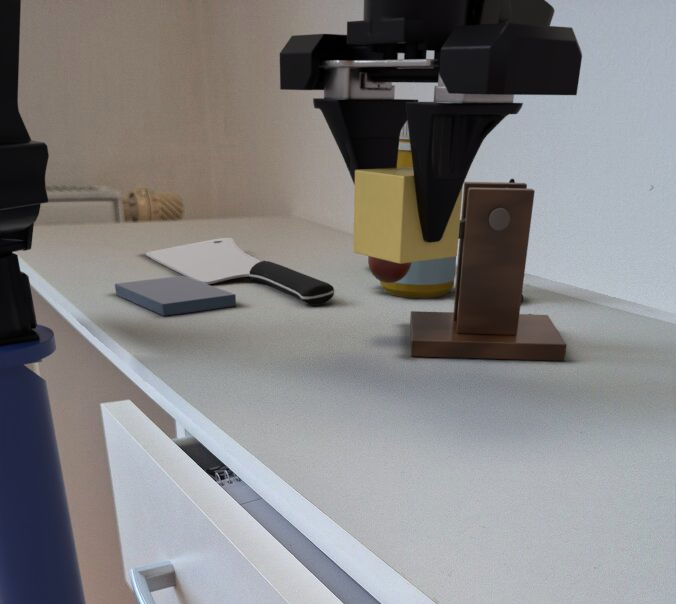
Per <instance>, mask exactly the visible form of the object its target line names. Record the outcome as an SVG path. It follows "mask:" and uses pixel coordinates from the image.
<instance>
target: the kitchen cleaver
mask: <svg viewBox="0 0 676 604" xmlns="http://www.w3.org/2000/svg"><path fill="white" fill-rule="evenodd" d="M145 256H147V257H148V258H149V259H151V260H153V261H155V262H157V263H159V264H161V265H163V266H165V267H166V268H168V269H171V270H173V271H174V272H177V273H179V274H181V275H182V276H185V277H188V278H191V279H193V280H196V281H199V282H202V283H205V284H207V285H212V284H217V283H221V282H224V281H228V280H233V279H237V278H239V279H240V278H246V277H249V278H250V279H251V281H253V282H257V283H263V284H267V285H268V286H272V287H274V288H275V289H278V290H281V291H282V292H285V293H286V294H289V295H291V296H293V297H296V298H298V299H300V300H301V301H302V302H304V303H305V304H307V305H310V306H322V305H325V304H326V303H328V302H329V301H331V300H332V299H333V297H334V295H335V292H336V291H335V287H334V286H333V285H331V283H329V282H326V281H323V280H320V279H318V278H316V277H312V276H310V275H308V274H304V273H302V272H300V271H297V270H294V269H292V268H289V267H287V266H284V265H281V264H279V263H276V262H273V261H269V260H261V259H258V258H256V257H254V256H252V255H249V254H248V253H246V252H244V251H243V250H242V249H241V248H240V247H238V246H237V245H236V243H235V241H234V239H233V238H231V237H221V238H214V239H209V240H208V239H207V240H203V241H197V242H193V243H187V244H182V245H176V246H172V247H171V246H170V247H167V248H161V249H157V250H152V251H151V250H150V251H147V252H145Z"/></svg>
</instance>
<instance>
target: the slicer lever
mask: <svg viewBox="0 0 676 604" xmlns="http://www.w3.org/2000/svg"><path fill="white" fill-rule="evenodd" d="M506 188H508V187H506ZM465 219H466V218H464V219H462V220H461V219H460V226H459V238H458V240H460V238H462V237H464V231H465ZM367 262H368V267H369V271H370V272H371V274H372V276H373V277H374V278H375V279H376V280H378V281H382V282H385V283H394V282H397V281H399V280H401V279H402V278H404V277H405V276H406V274H407V273H408V271H409V269H410V267H411V263H412V262H410V263H402V264H399V263H395V262H391V261H387V260H382V259H378V258H374V257H370V256H367Z"/></svg>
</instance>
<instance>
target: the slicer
mask: <svg viewBox="0 0 676 604" xmlns="http://www.w3.org/2000/svg"><path fill="white" fill-rule="evenodd" d="M506 187H508V188H506ZM534 199H535V190H534V189H533V188H528V184H527V183H526V182H515V183H509V182H503V181H501V182H500V181H499V182H497V181H464V184H463V190H462V203H461V215H460V220H462V219H464V218H466V219H465V231H464V237H462V238H460V239H458V251H457V263H456V264H457V265H456V275H455V276H456V278H455V288H454V289H455V291H454V301H453V312H452V311H446V312H445V311H419V310H418V311H413V310H412V311H410V315H409V316H410V319H409V334H410V335H409V340H410V357H413V358H414V357H417V358H419V357H420V358H447V359H450V358H451V359H453V358H454V359H481V360H482V359H483V360H484V359H488V360H519V361H520V360H523V361H554V362H556V361H558V362H564V361H565V360H566V352H567V346H568V344H567V342H566V341H565V340H564V338H563V336H562V334H561V333H560V332H559V330H558V329H557V327H556V325H555V324H554V322H553V321H552V319H551V317H549V315H548V314H532V313H531V314H527V313H520V312H521V305H522V302H521V298H522V294H523V289H524V280H525V273H526V265H527V256H528V249H529V239H530V231H531V225H532V216H533V207H534V202H535V201H534Z"/></svg>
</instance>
